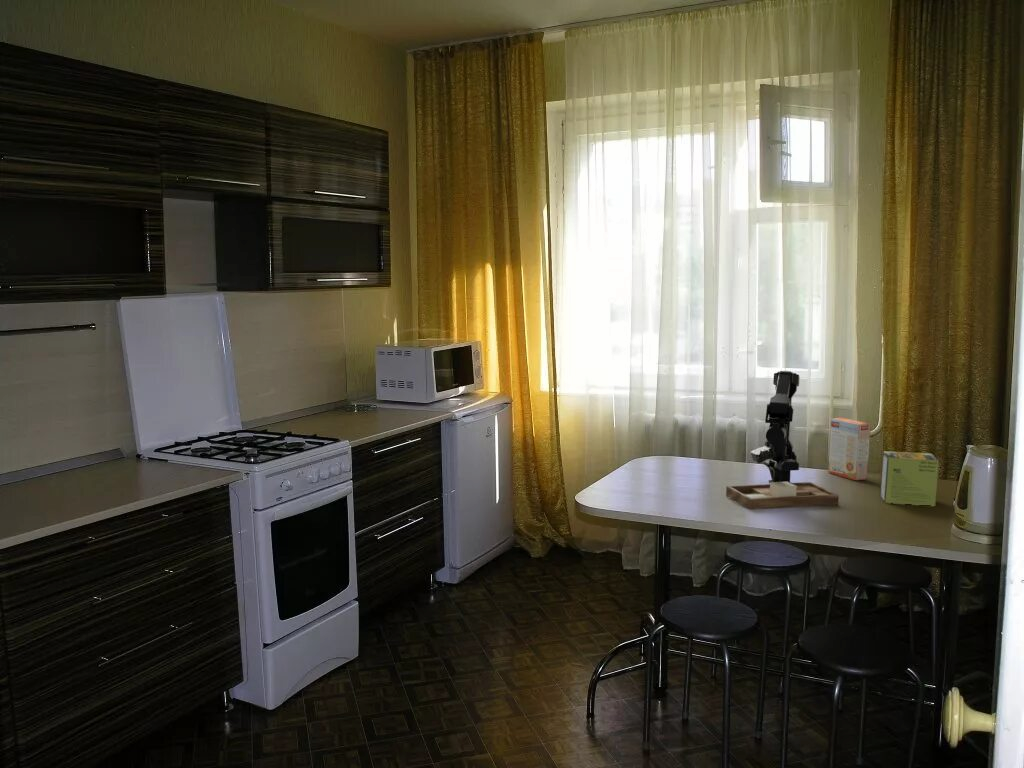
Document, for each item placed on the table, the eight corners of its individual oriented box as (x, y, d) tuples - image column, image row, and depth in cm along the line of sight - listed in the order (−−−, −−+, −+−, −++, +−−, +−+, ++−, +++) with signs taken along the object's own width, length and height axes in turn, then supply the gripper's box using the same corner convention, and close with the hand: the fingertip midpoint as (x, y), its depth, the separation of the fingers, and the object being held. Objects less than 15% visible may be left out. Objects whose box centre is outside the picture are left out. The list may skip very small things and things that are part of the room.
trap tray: (726, 495, 289) (726, 485, 289) (810, 491, 296) (810, 482, 295) (749, 509, 273) (750, 499, 272) (838, 504, 279) (838, 495, 279)
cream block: (769, 494, 282) (770, 482, 281) (786, 493, 283) (787, 481, 283) (778, 499, 276) (779, 486, 276) (795, 498, 277) (796, 486, 277)
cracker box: (868, 480, 312) (871, 423, 309) (855, 481, 310) (858, 424, 307) (840, 471, 325) (843, 416, 322) (827, 472, 323) (830, 417, 320)
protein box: (936, 506, 278) (939, 459, 276) (884, 503, 281) (888, 457, 279) (928, 498, 288) (931, 453, 286) (879, 495, 291) (882, 450, 289)
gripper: (741, 434, 289) (739, 479, 291) (769, 445, 271) (766, 494, 273) (772, 433, 291) (769, 478, 293) (801, 444, 273) (798, 492, 275)
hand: (775, 485), depth 284 cm, fingers closed
